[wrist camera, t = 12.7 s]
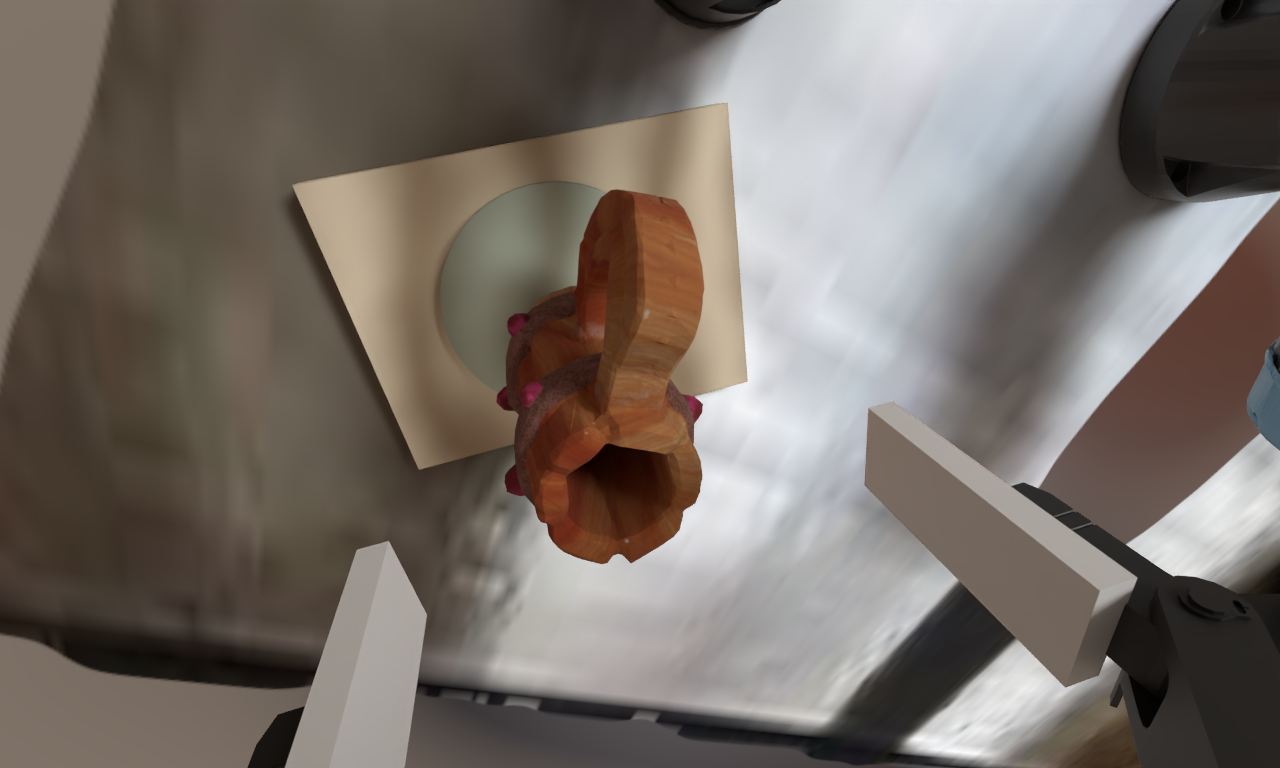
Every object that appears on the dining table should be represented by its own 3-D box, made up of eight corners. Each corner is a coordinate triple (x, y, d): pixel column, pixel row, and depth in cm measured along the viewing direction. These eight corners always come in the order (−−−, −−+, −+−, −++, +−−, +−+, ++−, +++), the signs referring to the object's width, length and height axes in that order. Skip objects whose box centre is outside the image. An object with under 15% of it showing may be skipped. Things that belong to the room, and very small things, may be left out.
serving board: (717, 103, 30) (733, 102, 28) (738, 372, 38) (752, 386, 36) (301, 182, 27) (286, 187, 25) (421, 456, 35) (417, 477, 33)
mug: (622, 422, 35) (701, 607, 22) (491, 413, 32) (491, 617, 19) (675, 185, 29) (827, 241, 16) (521, 152, 26) (550, 186, 13)
